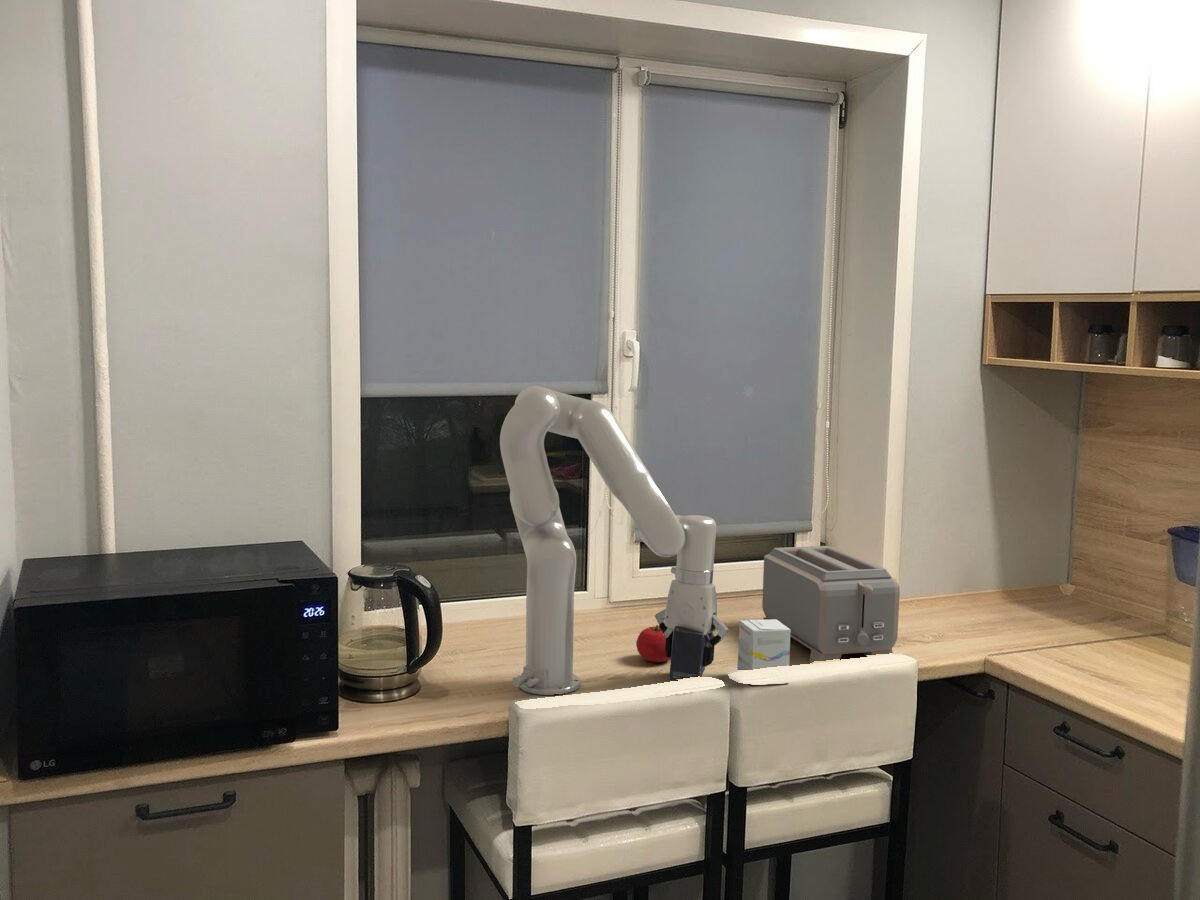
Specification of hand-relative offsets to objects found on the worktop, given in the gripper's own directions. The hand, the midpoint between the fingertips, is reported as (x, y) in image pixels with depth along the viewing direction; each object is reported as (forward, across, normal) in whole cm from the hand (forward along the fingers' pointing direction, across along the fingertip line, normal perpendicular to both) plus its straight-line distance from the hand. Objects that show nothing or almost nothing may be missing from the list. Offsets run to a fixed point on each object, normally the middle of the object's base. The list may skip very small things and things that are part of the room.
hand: (688, 659), depth 208 cm
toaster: (+3, +14, +42) cm, 44 cm away
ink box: (+4, +12, +11) cm, 17 cm away
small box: (+3, 0, 0) cm, 3 cm away
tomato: (+5, -12, +8) cm, 15 cm away
